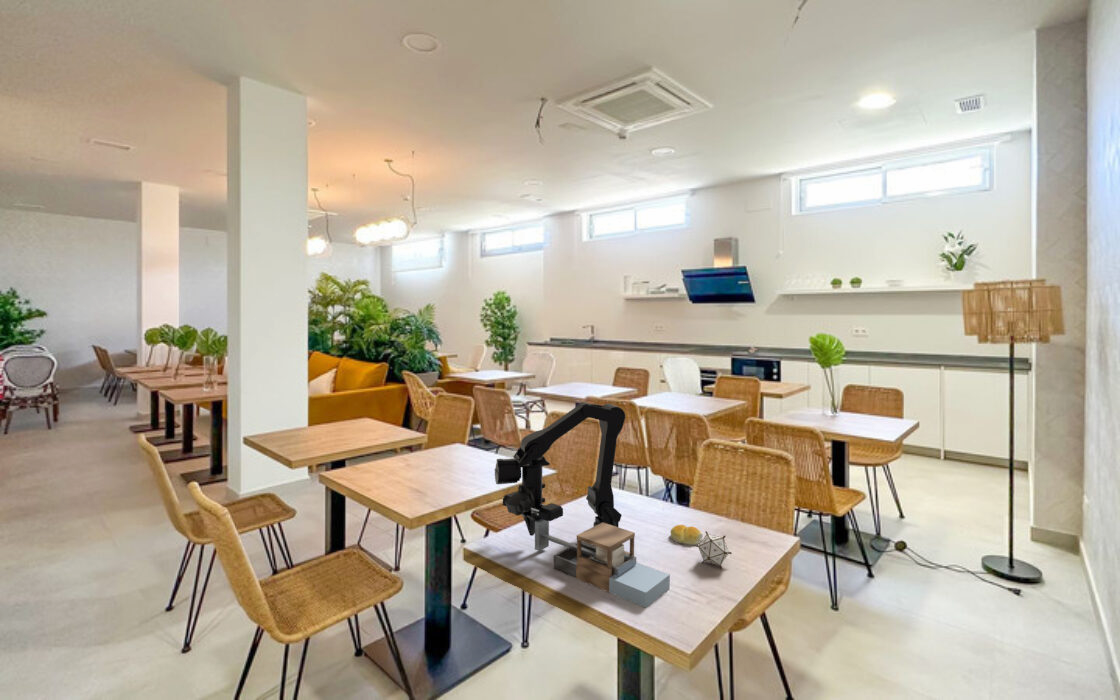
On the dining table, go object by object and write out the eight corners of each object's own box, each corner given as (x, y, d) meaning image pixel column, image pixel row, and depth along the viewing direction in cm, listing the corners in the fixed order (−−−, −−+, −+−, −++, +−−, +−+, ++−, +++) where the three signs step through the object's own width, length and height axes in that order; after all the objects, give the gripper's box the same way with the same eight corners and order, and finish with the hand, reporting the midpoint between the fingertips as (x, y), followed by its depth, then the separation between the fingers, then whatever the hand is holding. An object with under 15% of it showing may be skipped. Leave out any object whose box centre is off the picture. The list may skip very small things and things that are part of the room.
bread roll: (675, 531, 159) (675, 518, 158) (704, 538, 154) (705, 525, 154) (665, 541, 152) (666, 527, 152) (695, 548, 147) (696, 534, 147)
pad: (609, 592, 123) (609, 577, 122) (634, 575, 131) (634, 561, 131) (645, 607, 116) (646, 592, 116) (669, 588, 124) (669, 574, 124)
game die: (713, 581, 135) (707, 560, 130) (693, 557, 142) (686, 537, 137) (740, 561, 137) (735, 540, 132) (718, 539, 144) (713, 518, 138)
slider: (529, 551, 141) (529, 523, 141) (549, 542, 148) (549, 514, 147) (617, 587, 123) (618, 555, 122) (636, 575, 129) (636, 543, 128)
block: (595, 565, 129) (596, 545, 128) (607, 558, 132) (607, 539, 132) (612, 571, 125) (612, 551, 125) (623, 564, 129) (624, 544, 129)
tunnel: (553, 568, 134) (553, 527, 133) (579, 554, 142) (580, 515, 142) (609, 592, 123) (609, 547, 122) (634, 575, 131) (634, 532, 130)
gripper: (488, 480, 145) (488, 534, 146) (536, 496, 133) (536, 555, 134) (516, 472, 154) (516, 523, 155) (564, 485, 142) (564, 541, 143)
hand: (531, 535), depth 146 cm, fingers closed
